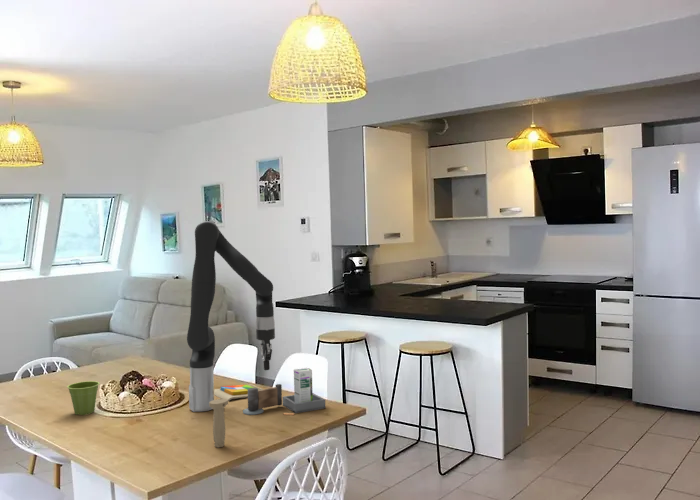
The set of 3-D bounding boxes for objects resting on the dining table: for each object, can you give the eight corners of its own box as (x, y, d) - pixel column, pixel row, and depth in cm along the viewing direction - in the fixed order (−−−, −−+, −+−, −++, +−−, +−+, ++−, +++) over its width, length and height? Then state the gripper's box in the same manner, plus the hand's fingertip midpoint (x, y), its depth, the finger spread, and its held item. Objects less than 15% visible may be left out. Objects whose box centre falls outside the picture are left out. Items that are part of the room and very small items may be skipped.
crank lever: (250, 411, 238) (250, 391, 238) (246, 408, 241) (246, 388, 241) (283, 405, 246) (283, 385, 246) (279, 403, 249) (279, 383, 249)
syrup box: (299, 407, 243) (299, 371, 243) (294, 404, 248) (293, 368, 248) (313, 405, 246) (312, 369, 245) (306, 402, 251) (306, 366, 250)
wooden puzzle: (267, 395, 267) (267, 387, 267) (227, 403, 256) (227, 394, 255) (249, 387, 281) (249, 380, 281) (210, 394, 270) (210, 386, 269)
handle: (207, 447, 201) (206, 402, 201) (221, 442, 207) (220, 397, 206) (217, 450, 199) (216, 404, 198) (231, 444, 204) (230, 400, 203)
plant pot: (89, 406, 251) (88, 379, 250) (106, 411, 244) (105, 383, 244) (61, 414, 241) (60, 385, 241) (78, 419, 234) (77, 390, 234)
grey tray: (295, 413, 238) (295, 404, 238) (282, 405, 250) (282, 396, 249) (325, 408, 244) (325, 399, 244) (311, 400, 256) (311, 392, 256)
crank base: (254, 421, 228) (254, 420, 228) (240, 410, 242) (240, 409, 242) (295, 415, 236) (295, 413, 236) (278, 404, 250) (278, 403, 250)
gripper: (253, 325, 254) (254, 367, 255) (259, 330, 242) (260, 374, 242) (271, 324, 257) (272, 365, 257) (277, 329, 244) (279, 372, 245)
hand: (266, 369), depth 250 cm, fingers closed
